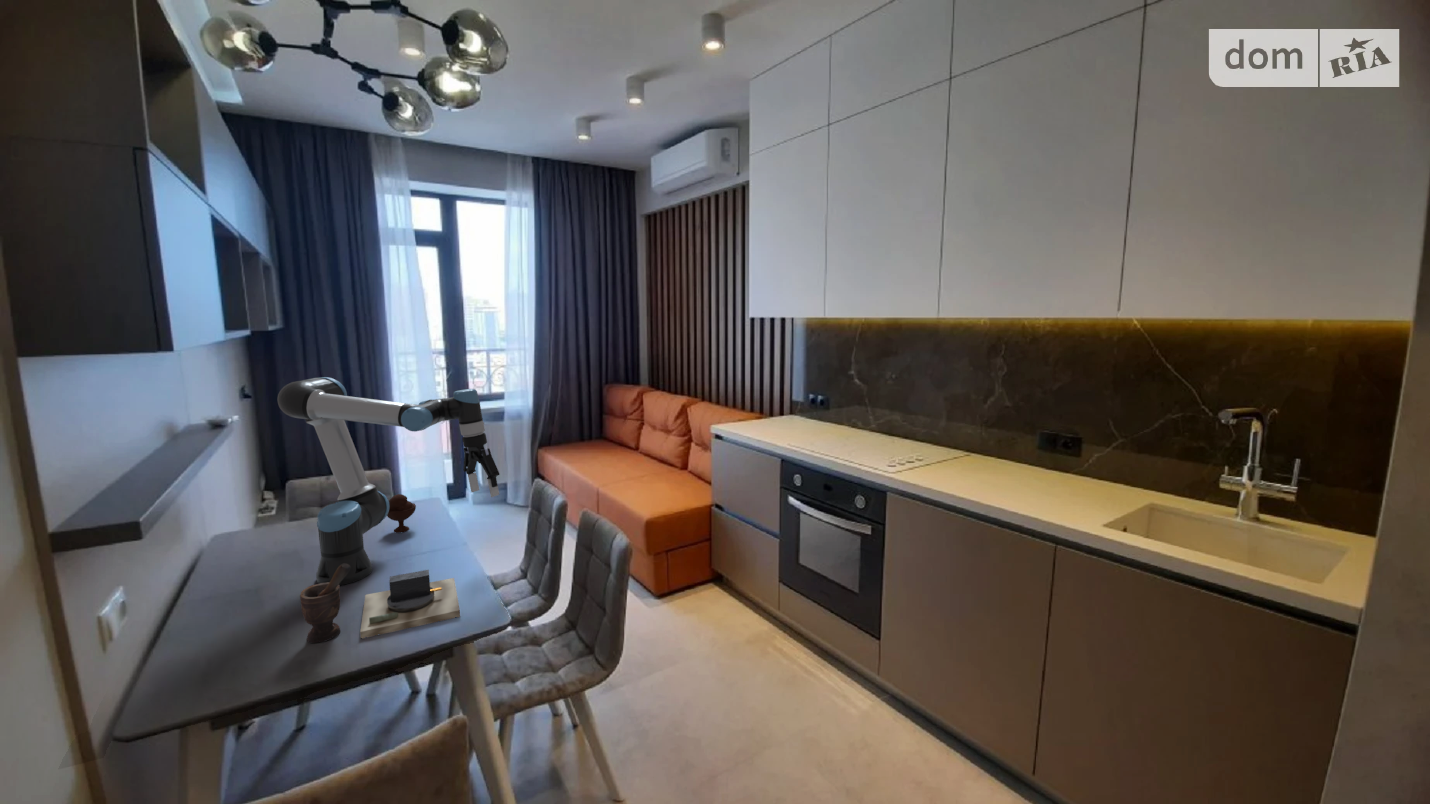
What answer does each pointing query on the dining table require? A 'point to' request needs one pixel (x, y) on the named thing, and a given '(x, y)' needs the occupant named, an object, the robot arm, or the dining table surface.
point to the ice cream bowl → (400, 511)
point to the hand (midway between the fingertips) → (485, 493)
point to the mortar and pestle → (323, 606)
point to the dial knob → (410, 592)
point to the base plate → (386, 621)
